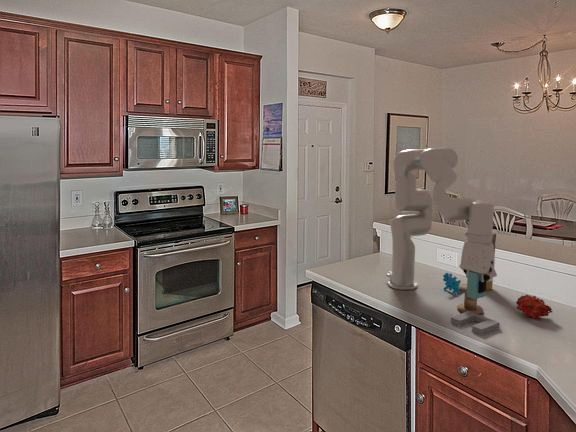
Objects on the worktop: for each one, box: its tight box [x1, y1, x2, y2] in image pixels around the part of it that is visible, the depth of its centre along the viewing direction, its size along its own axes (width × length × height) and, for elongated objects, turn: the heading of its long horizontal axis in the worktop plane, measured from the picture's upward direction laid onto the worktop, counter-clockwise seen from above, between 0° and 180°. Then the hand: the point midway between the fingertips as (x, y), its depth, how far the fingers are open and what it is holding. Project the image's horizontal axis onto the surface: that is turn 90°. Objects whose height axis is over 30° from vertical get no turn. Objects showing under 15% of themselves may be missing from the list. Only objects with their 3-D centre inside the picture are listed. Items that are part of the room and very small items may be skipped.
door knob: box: [456, 283, 484, 316], centre depth 165 cm, size 9×9×9 cm
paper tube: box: [485, 230, 497, 291], centre depth 187 cm, size 7×7×25 cm
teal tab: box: [466, 271, 486, 300], centre depth 149 cm, size 4×5×9 cm
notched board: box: [450, 311, 500, 336], centre depth 152 cm, size 12×10×2 cm
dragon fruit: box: [515, 294, 554, 321], centre depth 159 cm, size 8×8×12 cm
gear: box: [442, 272, 462, 295], centre depth 186 cm, size 11×6×10 cm
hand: (476, 290), depth 150 cm, fingers closed on teal tab, 3 cm apart
